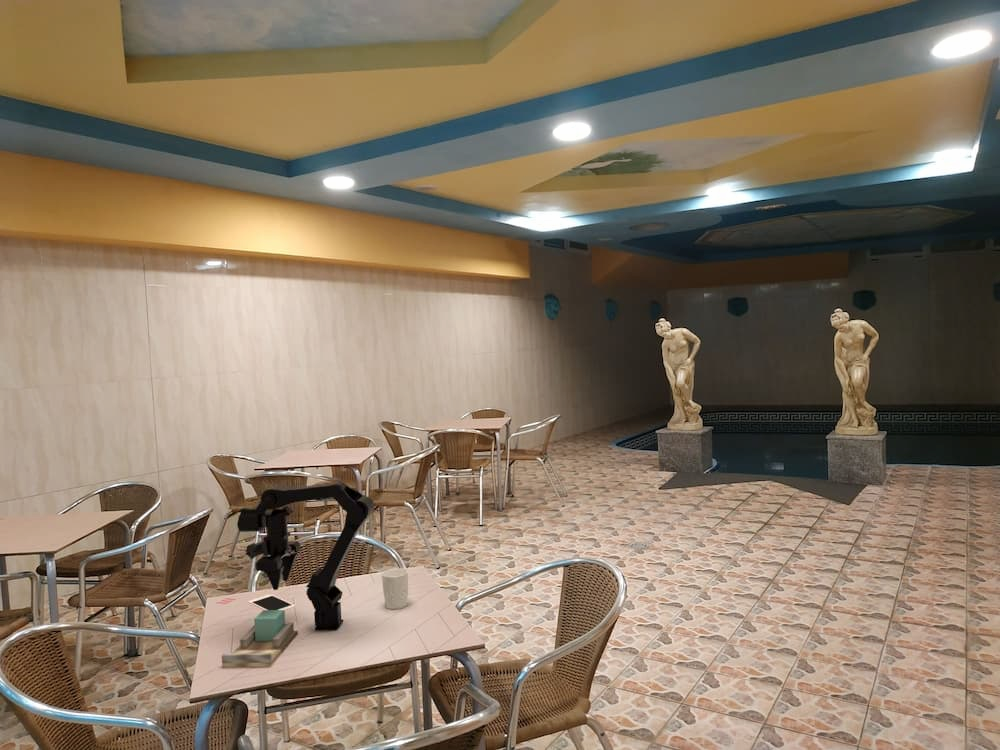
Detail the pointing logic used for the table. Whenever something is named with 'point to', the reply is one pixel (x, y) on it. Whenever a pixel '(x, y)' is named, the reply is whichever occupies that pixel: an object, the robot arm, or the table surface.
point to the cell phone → (271, 603)
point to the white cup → (395, 588)
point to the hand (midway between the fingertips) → (280, 585)
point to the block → (268, 624)
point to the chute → (260, 649)
